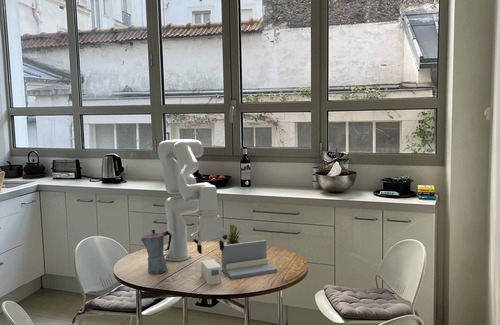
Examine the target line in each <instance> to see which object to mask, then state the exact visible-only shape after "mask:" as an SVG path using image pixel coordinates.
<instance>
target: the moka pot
mask: <svg viewBox="0 0 500 325" xmlns="http://www.w3.org/2000/svg"><path fill="white" fill-rule="evenodd" d="M168 235H169V241H168V240H167V242H168V243H167V247H166V248H165V249H164V243H165V242H164V240H165V239H164V238H165V237H166V236H168ZM171 238H172V235H171V234H170V233H169V232H168V230H165V231H162V232H156V230H155V229H151V233H147V234H146V235H144V236H143V237H141V238H140V241H141V242H142V243H143V245H144V246H145V248H146V249H145V250H146V252H147V256H148V257H147V273H148V274H150V275H151V274H152V275H157V274H162V273H165V272H166V271H167V270H168V267H167V261H166V257H165V256H164V255H163V252H164V251H168V250H169V248H170V242H171Z"/></svg>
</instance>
